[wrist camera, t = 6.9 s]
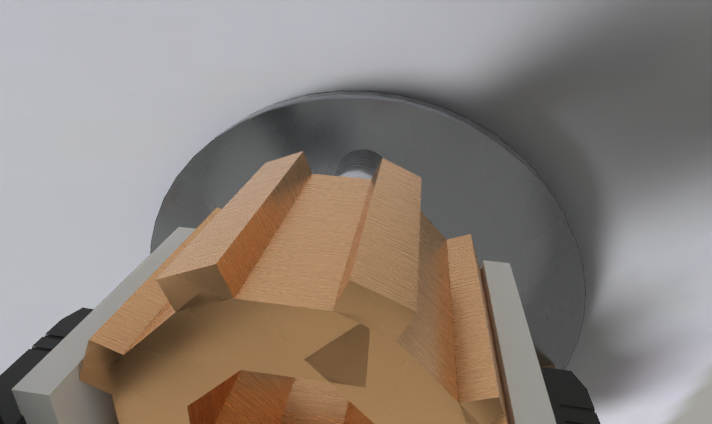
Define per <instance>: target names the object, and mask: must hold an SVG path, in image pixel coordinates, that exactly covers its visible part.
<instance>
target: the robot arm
mask: <svg viewBox="0 0 712 424" xmlns="http://www.w3.org/2000/svg"><path fill="white" fill-rule="evenodd" d="M194 230H195V229H194V228H185V227H178V228H177V229H176V230H175V231H174V232H173V233H172V234H171V235H170V236H169V237H168V238H167V239H166V240H165V241H164V242H163V243H162V244H161V245H160V246H159V247H158V248H157V249H156V250H154V251H153V252H152V253H151V254H150V255H149V256H148V257H147V258H146V259H145V260H144V261H143V262H142V263H141V264H140V265H139V266H138V267H137V268H136V269H135V270H134V271H133V272H132V273H131V274H130V275H129V276H128V277H127V278H126V279H125V280H124V281H123V282H122V283H121V284H119V285H118V286H117V287H116V288H115V289H114V290H113V291H112V292H111V293H110V294H109V295H108V296H107V297H106V298H105V299H104V300H103V301H102V302H101V303H100V304H99V305H98V306H97V307H96V308H95V309H87V308H82V309H80V310H78V311H76V312H74V313H72V314H71V315H69V316H67V317H65V318H63V319H62V320H60V321H59V322H58V323H57V324H56V325H55V326H54V327H53V328H52V329H51V330H49V331H48V332H47V333H46V335H45V337H42V338H41V339H40V340H39V341H37V342H36V343H35V344H34V345H33V346H32V349H29V350H28V351H26V352H25V353H24V354H23V355H22V356H21V357H20V358H19V359H18V360H17V361H16V362H14V363H13V364H12V365H11V366H10V367H9V368H8V369H7V370H6V371H5V372H4V373H2V374H1V375H0V424H119V422H118V418H117V414H116V410H115V406H114V402H113V398H112V394H110V393H107V392H105V391H103V390H100V389H98V388H96V387H94V386H91V385H89V384H87V383H85V382H82V381H80V379H79V376H80V372H81V368H82V364H83V360H84V356H85V352H86V348H87V344H88V340H89V339H90V338H91V337H92V336H93V335H94V334H95V333H96V332H97V331H98V330H99V328H100V327H101V326H102V325H103V324H104V323H105V322H106V321H107V320H108V319H109V318H110V317H111V316H112V315H113V314H114V313H115V312H116V311H117V310H118V309H119V308H120V307H121V306H122V305H123V304H124V303H125V302H126V301H127V300H128V299H129V298H130V297H131V295H132V294H133V293H134V292H135V291H136V290H137V289H138V288H139V287H140V286H141V285H142V284H143V283H144V282H145V281H146V280H147V279H148V278H149V277H150V276H151V275H152V274H153V273H154V272H155V271H156V270H157V269H158V268H159V267H160V266H161V265H162V263H163V262H164V261H165V260H166V259H167V258H168V257H169V256H170V255H171V254H172V253H173V252H174V251H175V250H176V249H177V248H178V247H179V246H180V245H181V244H182V243H183V242H184V241H185V240H186V239H187V238H188V237H189V236H190V235H191V234H192V233H193V231H194ZM481 273H482V279H483V284H484V289H485V294H486V300H487V305H488V310H489V316H490V321H491V326H492V332H493V337H494V342H495V348H496V353H497V358H498V364H499V369H500V374H501V379H502V385H503V390H504V395H505V401H506V406H507V411H508V417H509V422H510V424H600V422H599V419H598V417H597V414H596V413H595V412H594V410H595V409H594V406H593V404H592V401H591V399H590V396H589V394H588V391H587V389H586V388H585V387H584V385H583V384H582V383H581V382H580V381H579V380H578V379H577V377H576V376H575V375H574V374H573V373H572V372H571V371H567V370H560V369H552V368H545V367H540V365H539V362H538V359H537V355H536V352H535V348H534V345H533V341H532V338H531V334H530V331H529V328H528V324H527V321H526V317H525V314H524V310H523V307H522V304H521V300H520V297H519V293H518V290H517V286H516V283H515V280H514V276H513V273H512V269H511V266H510V263H503V262H494V261H485V260H483V263H482V268H481Z"/></svg>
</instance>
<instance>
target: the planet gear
mask: <svg viewBox="0 0 712 424" xmlns="http://www.w3.org/2000/svg"><path fill="white" fill-rule="evenodd" d="M420 205H421V177H420V176H418V175H416V174H414V173H412V172H410V171H408V170H406V169H404V168H402V167H400V166H398V165H396V164H394V163H392V162H390V161H388V160H386V159H384V158H382V160H381V162H380V164H379V166H378V168H377V170H376V171H375V173H374V175H373V177H372V179H363V178H353V177H342V176H332V175H321V174H313V173H312V171H311V168H310V166H309V163H308V161H307V159H306V156H305V154H304V151H301V152H298V153H295V154H292V155H289V156H286V157H282V158H279V159H276V160H273V161H270V162H266V163H265V164H264V165H263V166H262V167H261V168H260V169H259V170H258V171H257V172H256V173H255V174H254V176H253V177H252V178H251V179H250V180H249V181H248V182H247V183H246V184H245V185H244V186H243V187H242V188H241V189H240V190H239V192H238V193H237V194H236V195H235V196H234V197H233V198H232V199H231V200H230V201H229V202H228V203H227V204H226V205H225V206H224V208H223V209H220V208H218V207H217V208H216V209H215V210H214V211H213V212H212V213H211V214H210V215H209V216H208V217H207V218H206V219H205V220H204V221H203V222H202V223H201V224H200V225H199V226H198V227H197V228H196V229H195V230H194V231H193V233H192V234H191V235H190V236H189V237H188V238H187V239H186V240H185V241H184V242H183V243H182V244H181V245H180V246H179V247H178V248H177V249H176V250H175V251H174V252H173V253H172V254H171V255H170V256H169V257H168V258H167V259H166V260H165V261H164V262H163V263H162V265H161V266H160V267H159V268H158V269H157V270H156V271H155V272H154V273H153V274H152V275H151V276H150V277H149V278H148V279H147V280H146V281H145V282H144V283H143V284H142V285H141V286H140V287H139V288H138V289H137V290H136V291H135V292H134V293H133V294H132V295H131V297H130V298H129V299H128V300H127V301H126V302H125V303H124V304H123V305H122V306H121V307H120V308H119V309H118V310H117V311H116V312H115V313H114V314H113V315H112V316H111V317H110V318H109V319H108V320H107V321H106V322H105V323H104V324H103V325H102V326H101V327H100V328H99V330H98V331H97V332H96V333H95V334H94V335H93V336H92V337H91V338H90V339H89V340H88V344H87V348H86V352H85V356H84V360H83V364H82V368H81V372H80V376H79V379H80V381H82V382H85V383H87V384H89V385H91V386H94V387H96V388H98V389H100V390H103V391H105V392H107V393H110V394H112V398H113V402H114V406H115V410H116V414H117V418H118V422H119V424H510V422H509V417H508V411H507V406H506V401H505V395H504V390H503V385H502V379H501V374H500V369H499V364H498V358H497V353H496V348H495V342H494V337H493V332H492V326H491V321H490V316H489V310H488V305H487V300H486V294H485V289H484V284H483V279H482V273H481V267H480V264H479V261H478V257H477V254H476V250H475V247H474V243H473V240H472V236H471V234H468V235H464V236H459V237H455V238H451V239H446V238H445V237H444V236H443V235H442V234H441V233H440V232H439V231H438V229H437V228H436V227H435V226H434V225H433V224H432V223H431V222H430V220H429V219H428V218H427V217H426V216H425V215H424V214H423V213H422V212H421V210H420Z"/></svg>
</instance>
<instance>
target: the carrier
mask: <svg viewBox="0 0 712 424" xmlns="http://www.w3.org/2000/svg"><path fill="white" fill-rule="evenodd" d="M301 151H304V154H305V156H306V159H307V161H308V163H309V166H310V168H311V171H312V173H313V174H321V175H332V176H342V177H353V178H363V179H372V177H373V175H374V173H375V171H376V170H377V168H378V166H379V164H380V162H381V160H382V158H384V159H386V160H388V161H390V162H392V163H394V164H396V165H398V166H400V167H402V168H404V169H406V170H408V171H410V172H412V173H414V174H416V175H418V176H420V177H421V205H420V210H421V212H422V213H423V214H424V215H425V216H426V217H427V218H428V219H429V220H430V222H431V223H432V224H433V225H434V226H435V227H436V228H437V229H438V231H439V232H440V233H441V234H442V235H443V236H444V237H445V238H446V239H451V238H455V237H459V236H464V235H468V234H471V236H472V240H473V243H474V247H475V250H476V254H477V257H478V261H479V264H480V267H481V268H482V263H483V260H485V261H494V262H503V263H510V266H511V269H512V273H513V276H514V280H515V283H516V286H517V290H518V293H519V297H520V300H521V304H522V307H523V310H524V314H525V317H526V321H527V324H528V328H529V331H530V334H531V338H532V341H533V345H534V348H535V352H536V355H537V359H538V362H539V365H540V367H545V368H552V369H560V370H564V368H565V367H566V365H567V364H568V362H569V360H570V358H571V355H572V353H573V351H574V348H575V346H576V344H577V342H578V338H579V334H580V330H581V326H582V322H583V318H584V308H585V294H586V291H585V281H584V271H583V264H582V261H581V257H580V254H579V250H578V246H577V243H576V240H575V237H574V235H573V233H572V231H571V229H570V227H569V225H568V222H567V220H566V218H565V216H564V214H563V212H562V211H561V209H560V207H559V205H558V204H557V202H556V200H555V199H554V197H553V196H552V194H551V193H550V191H549V190H548V188H547V187H546V185H545V184H544V182H543V181H542V180H541V178H540V177H539V175H538V174H537V173H536V172H535V171H534V170H533V169H532V168H531V167H530V166H529V165H528V164H527V162H526V161H525V160H524V159H523V158H522V157H521V156H520V155H519V154H518V153H517V152H516V151H514V150H513V149H512V148H511V147H509V146H508V145H507V144H506V143H504V142H503V141H502V140H501V139H499V138H498V137H497V136H496V135H494V134H493V133H491V132H489V131H488V130H486V129H484V128H483V127H481V126H479V125H478V124H476V123H474V122H473V121H471V120H469V119H468V118H466V117H464V116H461V115H459V114H457V113H454V112H452V111H450V110H447V109H445V108H443V107H440V106H438V105H435V104H432V103H428V102H424V101H421V100H417V99H414V98H410V97H406V96H402V95H394V94H387V93H380V92H373V91H334V92H326V93H319V94H311V95H305V96H301V97H298V98H294V99H290V100H287V101H283V102H279V103H276V104H274V105H272V106H269V107H267V108H265V109H262V110H260V111H258V112H255V113H253V114H251V115H249V116H247V117H246V118H244V119H243V120H241V121H239V122H238V123H236V124H235V125H233V126H231V127H230V128H228V129H227V130H225V131H224V132H223V133H221V134H220V135H219V136H217V137H216V138H215V139H214V140H212V141H211V142H210V143H209V144H208V145H207V146H206V147H204V148H203V149H202V150H201V151H200V152H199V153H197V154H196V155H195V156H194V157H193V158H192V159H191V160H190V162H189V163H188V164H187V165H186V166H185V168H184V169H183V170H182V171H181V172H180V174H179V175H178V176H177V177H176V179H175V181H174V182H173V184H172V186H171V187H170V189H169V191H168V193H167V194H166V196H165V198H164V200H163V202H162V205H161V208H160V210H159V213H158V216H157V218H156V221H155V226H154V231H153V235H152V240H151V252H150V254H151V253H152V252H153V251H154V250H156V249H157V248H158V247H159V246H160V245H161V244H162V243H163V242H164V241H165V240H166V239H167V238H168V237H169V236H170V235H171V234H172V233H173V232H174V231H175V230H176V229H177V228H178V227H185V228H194V229H196V228H197V227H198V226H199V225H200V224H201V223H202V222H203V221H204V220H205V219H206V218H207V217H208V216H209V215H210V214H211V213H212V212H213V211H214V210H215V209H216V208H217V207H218V208H220V209H223V208H224V206H225V205H226V204H227V203H228V202H229V201H230V200H231V199H232V198H233V197H234V196H235V195H236V194H237V193H238V192H239V190H240V189H241V188H242V187H243V186H244V185H245V184H246V183H247V182H248V181H249V180H250V179H251V178H252V177H253V176H254V174H255V173H256V172H257V171H258V170H259V169H260V168H261V167H262V166H263V165H264V164H265V163H266V162H270V161H273V160H276V159H279V158H282V157H286V156H289V155H292V154H295V153H298V152H301Z"/></svg>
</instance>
